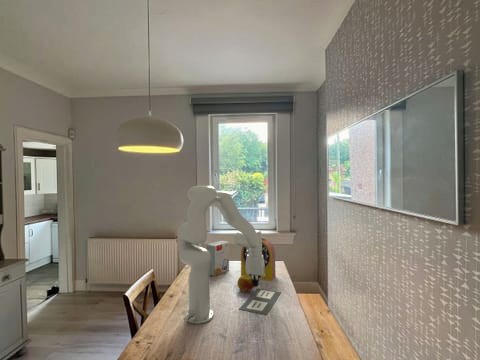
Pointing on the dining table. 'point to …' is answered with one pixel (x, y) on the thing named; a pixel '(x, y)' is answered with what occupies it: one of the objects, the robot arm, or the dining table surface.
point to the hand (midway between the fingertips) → (255, 286)
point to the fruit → (245, 283)
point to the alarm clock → (268, 257)
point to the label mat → (260, 301)
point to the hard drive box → (219, 257)
